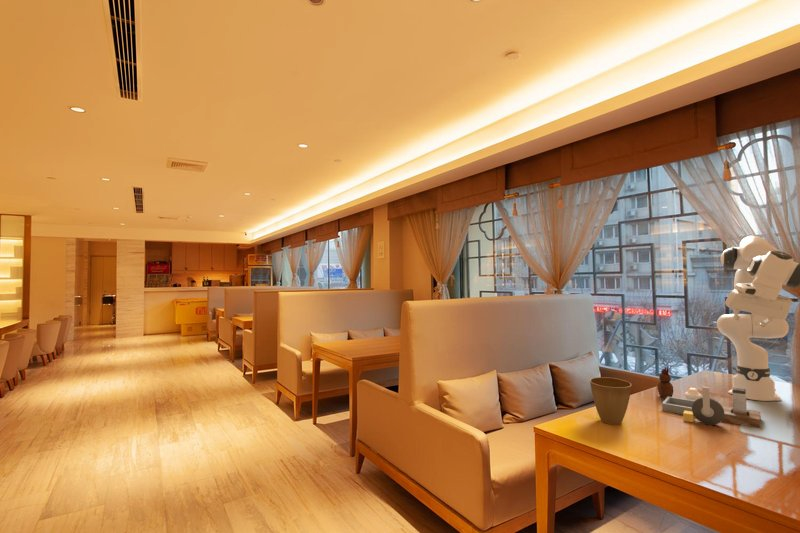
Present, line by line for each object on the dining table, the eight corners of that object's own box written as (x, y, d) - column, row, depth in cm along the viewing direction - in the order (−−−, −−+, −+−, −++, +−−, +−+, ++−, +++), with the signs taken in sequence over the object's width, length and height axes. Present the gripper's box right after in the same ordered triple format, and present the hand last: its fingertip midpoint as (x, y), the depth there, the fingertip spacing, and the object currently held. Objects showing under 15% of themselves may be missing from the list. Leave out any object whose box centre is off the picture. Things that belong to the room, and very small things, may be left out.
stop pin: (734, 417, 165) (733, 387, 165) (747, 419, 162) (745, 389, 162) (733, 420, 162) (732, 389, 162) (746, 422, 159) (745, 391, 159)
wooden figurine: (675, 399, 189) (674, 367, 189) (662, 399, 190) (661, 367, 190) (669, 395, 195) (668, 364, 196) (655, 395, 196) (655, 364, 197)
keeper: (722, 412, 170) (722, 405, 170) (760, 419, 162) (760, 411, 162) (719, 420, 162) (719, 413, 162) (759, 427, 153) (759, 419, 153)
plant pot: (582, 418, 166) (581, 379, 166) (608, 413, 172) (607, 375, 172) (614, 431, 152) (613, 388, 153) (641, 425, 158) (640, 384, 158)
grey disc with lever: (685, 417, 165) (683, 380, 166) (725, 425, 156) (723, 386, 157) (682, 422, 160) (681, 384, 161) (723, 430, 152) (722, 389, 152)
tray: (668, 403, 184) (667, 396, 184) (703, 409, 175) (703, 402, 175) (662, 410, 174) (662, 403, 174) (699, 417, 166) (699, 409, 166)
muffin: (699, 406, 179) (699, 390, 179) (683, 403, 184) (682, 387, 184) (703, 403, 183) (702, 387, 184) (687, 400, 188) (686, 385, 188)
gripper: (789, 295, 160) (774, 327, 164) (731, 283, 165) (717, 313, 169) (799, 301, 154) (783, 333, 159) (738, 287, 159) (724, 319, 163)
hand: (748, 323), depth 164 cm, fingers open, 8 cm apart
